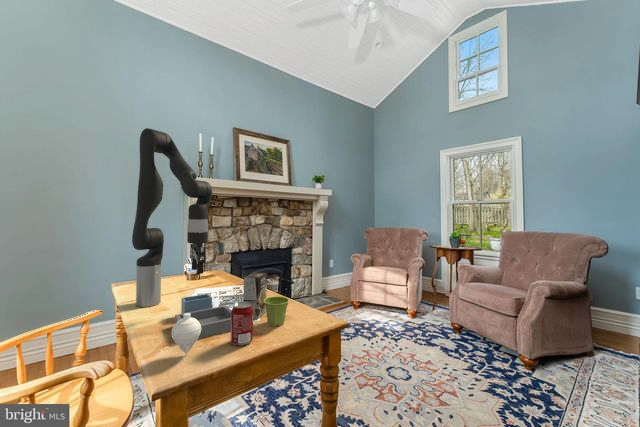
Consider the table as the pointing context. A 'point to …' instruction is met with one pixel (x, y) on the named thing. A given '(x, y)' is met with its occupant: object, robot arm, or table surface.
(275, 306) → the plant pot
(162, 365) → the table surface
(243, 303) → the soda can
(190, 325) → the spinning top
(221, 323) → the grey shallow tray
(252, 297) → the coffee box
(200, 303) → the small crate
